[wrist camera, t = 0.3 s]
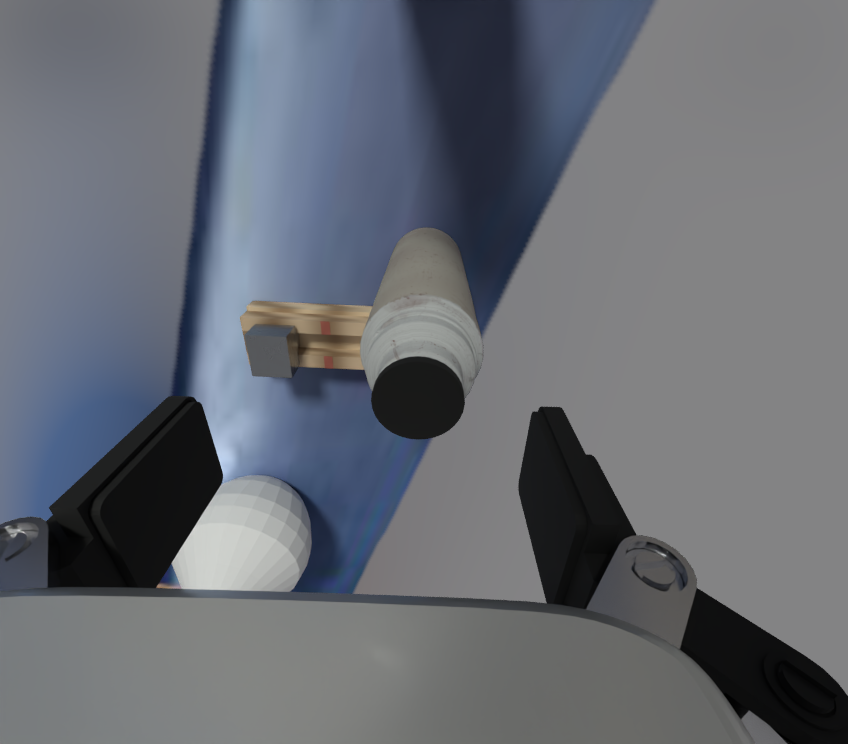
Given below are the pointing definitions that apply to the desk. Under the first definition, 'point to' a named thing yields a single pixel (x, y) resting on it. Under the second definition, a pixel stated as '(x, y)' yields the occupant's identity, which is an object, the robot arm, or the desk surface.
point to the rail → (318, 309)
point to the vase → (247, 539)
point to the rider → (273, 350)
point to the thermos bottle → (422, 338)
